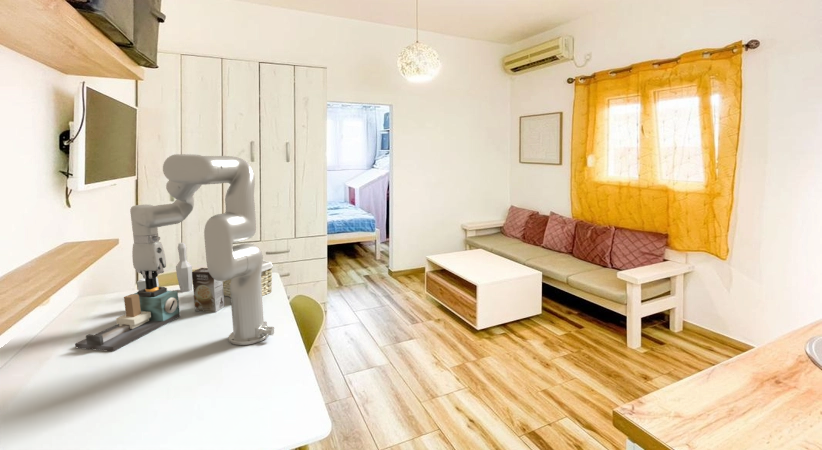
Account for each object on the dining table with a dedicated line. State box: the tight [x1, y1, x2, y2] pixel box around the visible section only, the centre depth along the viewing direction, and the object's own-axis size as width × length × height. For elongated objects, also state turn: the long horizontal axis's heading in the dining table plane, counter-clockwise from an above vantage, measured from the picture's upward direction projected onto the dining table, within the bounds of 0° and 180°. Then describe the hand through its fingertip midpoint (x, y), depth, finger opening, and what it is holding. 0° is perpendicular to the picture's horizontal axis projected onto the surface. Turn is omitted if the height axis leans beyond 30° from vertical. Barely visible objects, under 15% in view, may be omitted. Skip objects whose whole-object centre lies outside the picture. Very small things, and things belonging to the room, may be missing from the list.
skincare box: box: [136, 277, 160, 292], centre depth 158 cm, size 6×4×12 cm
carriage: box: [115, 293, 151, 329], centre depth 138 cm, size 7×7×10 cm
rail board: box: [74, 286, 181, 352], centre depth 137 cm, size 15×28×12 cm, turn 170°
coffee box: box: [192, 267, 225, 313], centre depth 156 cm, size 9×6×16 cm
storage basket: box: [223, 259, 274, 298], centre depth 175 cm, size 24×16×15 cm
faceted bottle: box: [175, 242, 193, 293], centre depth 179 cm, size 6×6×22 cm
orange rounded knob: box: [145, 287, 159, 292], centre depth 145 cm, size 4×4×2 cm
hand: (151, 288), depth 145 cm, fingers closed
